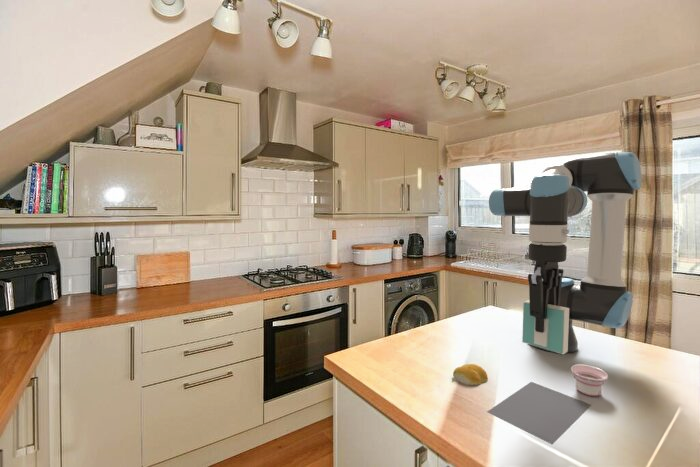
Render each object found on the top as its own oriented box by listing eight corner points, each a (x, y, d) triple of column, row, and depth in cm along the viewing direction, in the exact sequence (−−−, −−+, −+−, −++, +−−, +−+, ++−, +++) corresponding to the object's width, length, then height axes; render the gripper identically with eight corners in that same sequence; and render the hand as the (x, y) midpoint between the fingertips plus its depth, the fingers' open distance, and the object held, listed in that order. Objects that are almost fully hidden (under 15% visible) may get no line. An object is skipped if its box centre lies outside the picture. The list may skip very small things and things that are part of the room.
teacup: (620, 413, 79) (622, 388, 79) (560, 399, 85) (561, 375, 85) (612, 390, 90) (614, 367, 89) (559, 378, 96) (560, 357, 95)
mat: (487, 414, 79) (487, 411, 79) (531, 383, 93) (531, 381, 93) (552, 446, 68) (552, 444, 68) (591, 407, 82) (591, 404, 82)
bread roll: (492, 381, 95) (493, 367, 94) (472, 390, 90) (472, 376, 90) (467, 369, 102) (468, 356, 101) (447, 377, 97) (447, 364, 96)
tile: (521, 342, 83) (522, 301, 82) (527, 339, 84) (528, 299, 84) (562, 354, 76) (564, 310, 75) (567, 351, 77) (569, 308, 76)
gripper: (550, 247, 70) (546, 357, 72) (579, 242, 80) (575, 339, 82) (514, 244, 76) (511, 346, 78) (545, 240, 86) (542, 331, 88)
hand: (544, 342), depth 80 cm, fingers closed on tile, 3 cm apart
